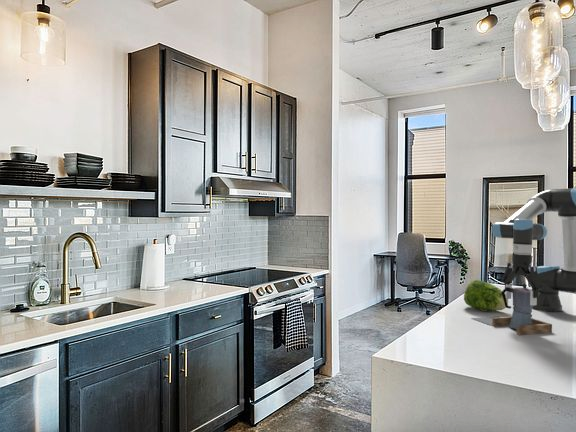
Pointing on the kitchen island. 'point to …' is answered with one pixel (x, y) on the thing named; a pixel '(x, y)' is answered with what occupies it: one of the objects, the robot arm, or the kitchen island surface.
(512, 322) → the moka pot
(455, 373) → the kitchen island surface
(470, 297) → the lettuce
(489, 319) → the mat
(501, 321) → the brown wooden frame
